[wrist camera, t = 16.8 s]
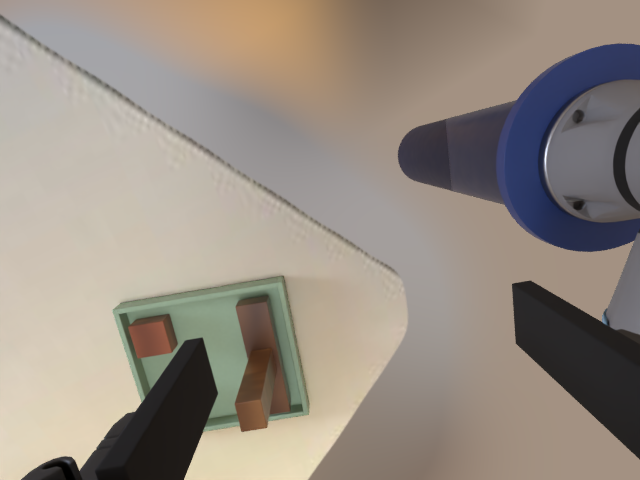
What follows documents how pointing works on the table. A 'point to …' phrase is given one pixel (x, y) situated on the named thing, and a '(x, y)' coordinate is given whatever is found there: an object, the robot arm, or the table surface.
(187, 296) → the tray
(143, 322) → the chip
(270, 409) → the brown piece
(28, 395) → the table surface
